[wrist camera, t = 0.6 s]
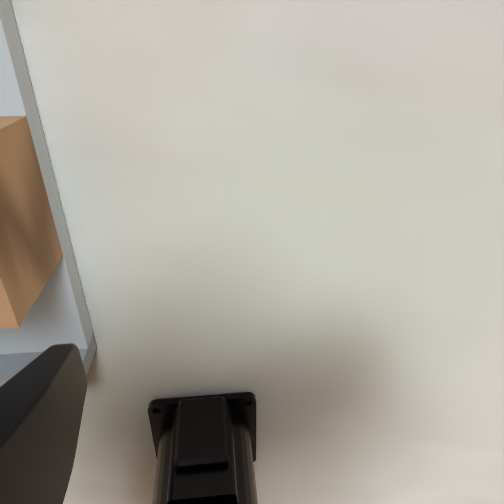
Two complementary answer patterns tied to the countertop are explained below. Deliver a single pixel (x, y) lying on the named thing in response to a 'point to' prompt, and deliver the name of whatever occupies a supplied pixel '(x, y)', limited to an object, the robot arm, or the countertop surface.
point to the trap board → (65, 274)
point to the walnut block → (23, 224)
